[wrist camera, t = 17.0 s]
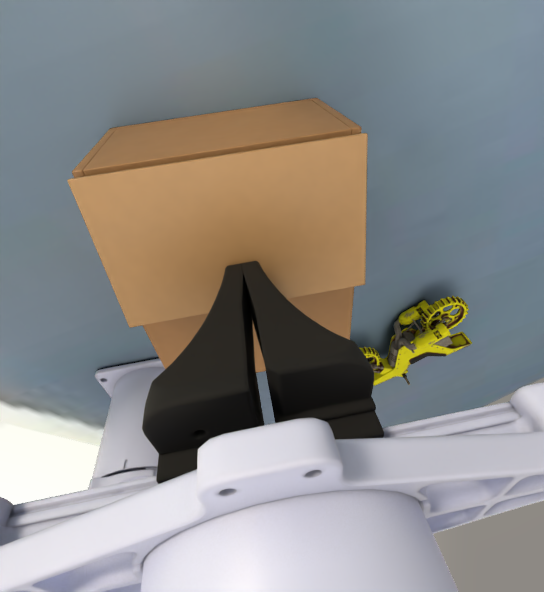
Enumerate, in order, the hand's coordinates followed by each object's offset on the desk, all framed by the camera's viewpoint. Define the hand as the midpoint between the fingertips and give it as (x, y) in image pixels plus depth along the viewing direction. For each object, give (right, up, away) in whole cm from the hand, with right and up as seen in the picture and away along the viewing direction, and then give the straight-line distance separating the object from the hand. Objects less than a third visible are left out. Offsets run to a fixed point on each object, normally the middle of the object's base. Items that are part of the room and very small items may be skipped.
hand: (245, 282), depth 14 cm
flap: (0, +2, 0) cm, 2 cm away
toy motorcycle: (+13, -4, +17) cm, 22 cm away
